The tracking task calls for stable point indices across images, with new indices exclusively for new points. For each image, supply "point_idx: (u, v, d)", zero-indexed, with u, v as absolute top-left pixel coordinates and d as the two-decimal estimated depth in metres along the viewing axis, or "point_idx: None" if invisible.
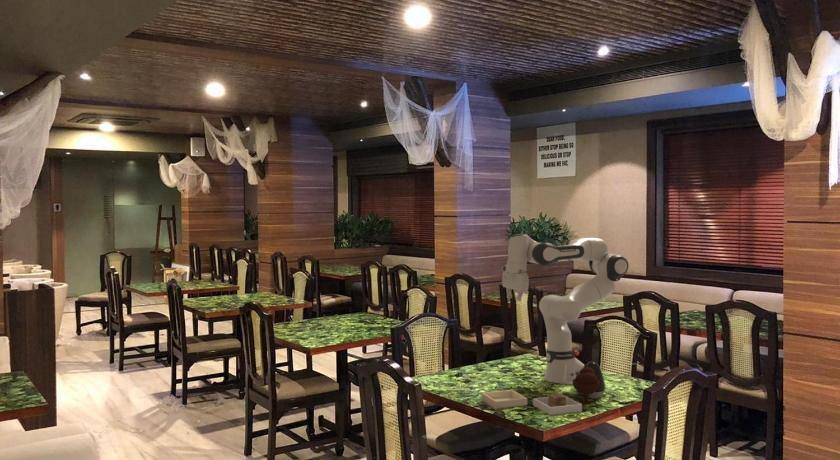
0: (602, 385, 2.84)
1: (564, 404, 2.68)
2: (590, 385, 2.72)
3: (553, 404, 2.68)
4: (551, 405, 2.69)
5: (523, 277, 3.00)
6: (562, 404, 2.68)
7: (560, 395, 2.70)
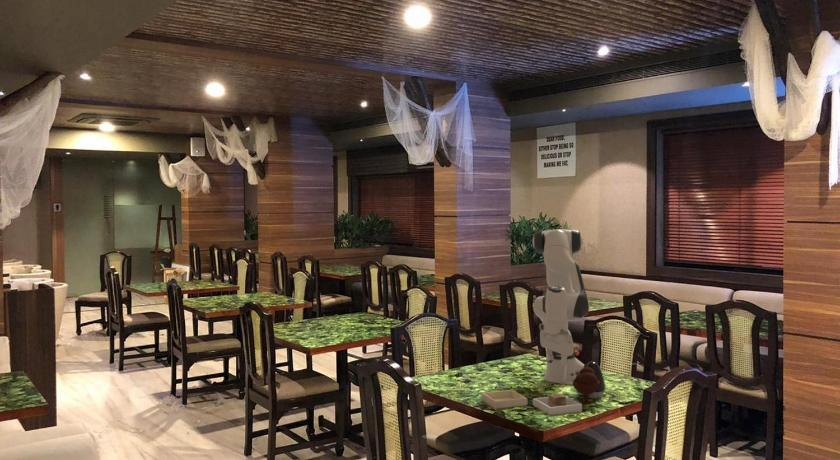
0: (602, 385, 2.84)
1: (564, 404, 2.68)
2: (590, 385, 2.72)
3: (553, 404, 2.68)
4: (551, 405, 2.69)
5: (566, 339, 2.60)
6: (562, 404, 2.68)
7: (560, 395, 2.70)
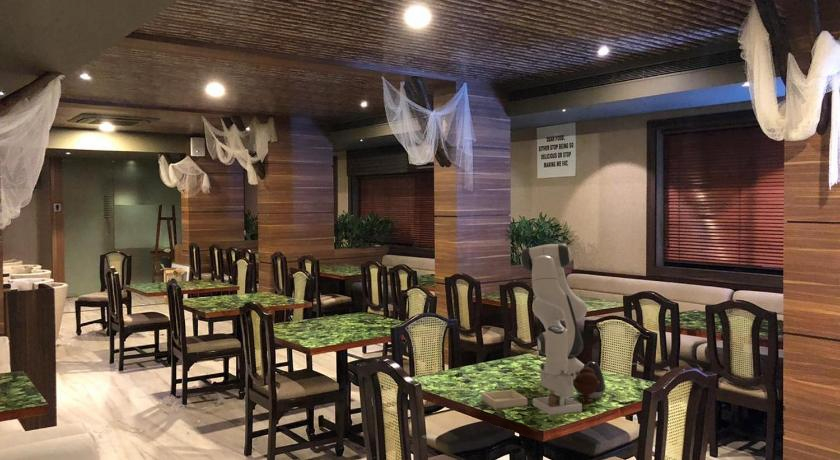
0: (602, 385, 2.84)
1: (564, 404, 2.68)
2: (590, 385, 2.72)
3: (553, 404, 2.68)
4: (551, 405, 2.69)
5: (567, 381, 2.61)
6: None
7: None
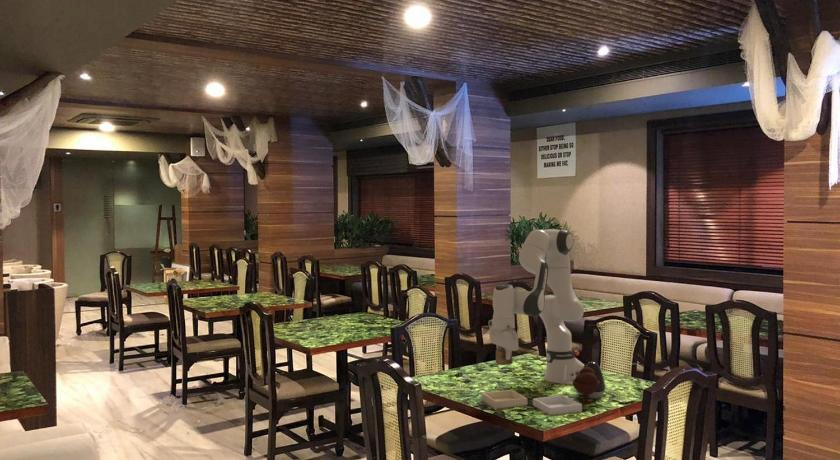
0: (602, 385, 2.84)
1: (510, 359, 2.77)
2: (590, 385, 2.72)
3: (499, 358, 2.77)
4: (498, 360, 2.78)
5: (511, 335, 2.69)
6: None
7: None
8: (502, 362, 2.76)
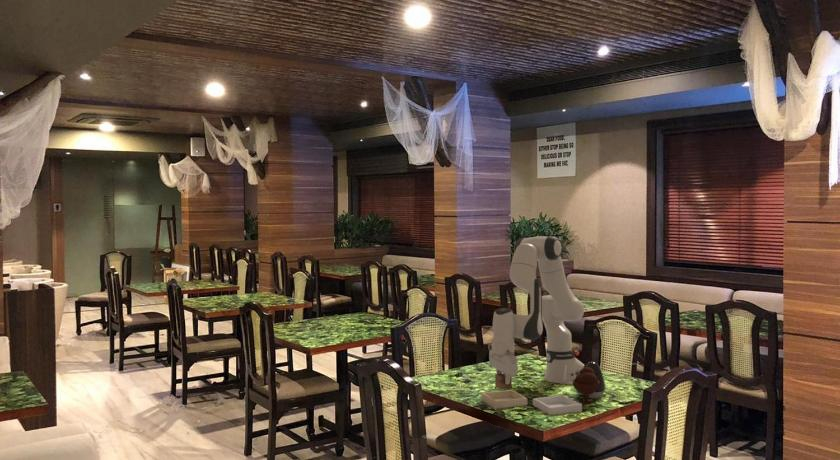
0: (602, 385, 2.84)
1: (510, 383, 2.77)
2: (590, 385, 2.72)
3: (499, 383, 2.77)
4: (497, 384, 2.79)
5: (511, 360, 2.70)
6: None
7: None
8: (501, 386, 2.76)
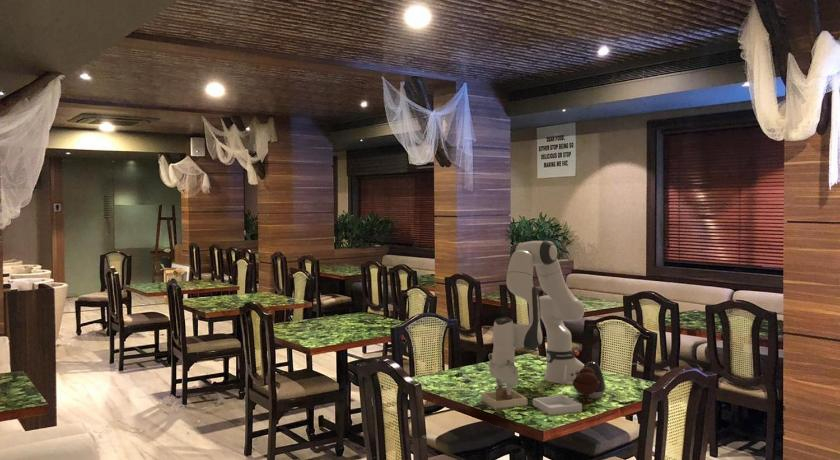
0: (602, 385, 2.84)
1: (510, 398, 2.78)
2: (590, 385, 2.72)
3: (499, 398, 2.77)
4: (498, 399, 2.79)
5: (511, 370, 2.70)
6: (509, 398, 2.77)
7: None
8: None
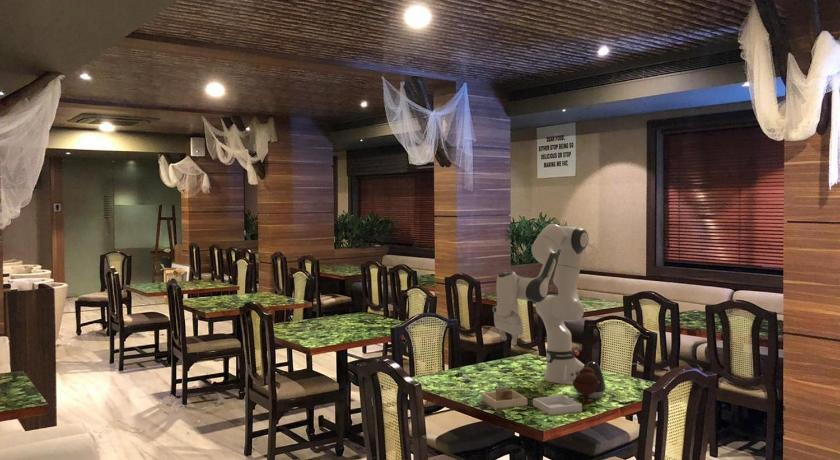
0: (602, 385, 2.84)
1: (510, 398, 2.78)
2: (590, 385, 2.72)
3: (499, 398, 2.77)
4: (498, 399, 2.79)
5: (516, 320, 2.78)
6: (509, 398, 2.77)
7: (507, 389, 2.79)
8: None
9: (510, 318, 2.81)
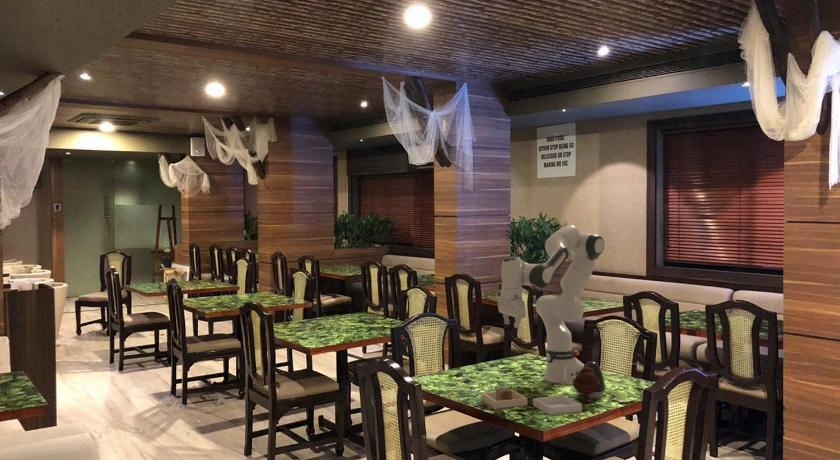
0: (602, 385, 2.84)
1: (510, 398, 2.78)
2: (590, 385, 2.72)
3: (499, 398, 2.77)
4: (498, 399, 2.79)
5: (519, 303, 2.87)
6: (509, 398, 2.77)
7: (507, 389, 2.79)
8: None
9: (514, 301, 2.90)
